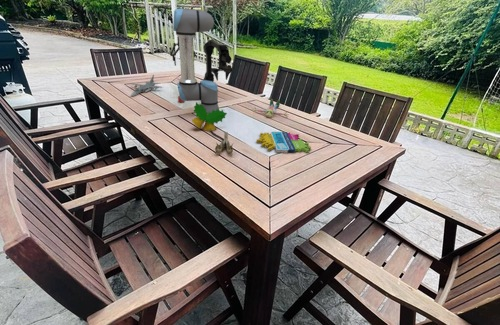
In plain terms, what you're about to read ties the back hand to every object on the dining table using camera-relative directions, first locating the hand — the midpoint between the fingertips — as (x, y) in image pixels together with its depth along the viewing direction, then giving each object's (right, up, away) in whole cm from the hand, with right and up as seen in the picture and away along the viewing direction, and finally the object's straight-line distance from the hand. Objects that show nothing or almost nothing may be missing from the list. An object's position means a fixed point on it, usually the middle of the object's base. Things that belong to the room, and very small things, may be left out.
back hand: (221, 80), depth 225 cm
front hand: (-29, +8, -14) cm, 33 cm away
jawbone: (+11, -65, -86) cm, 109 cm away
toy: (+41, -32, -24) cm, 57 cm away
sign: (+43, -60, -72) cm, 103 cm away
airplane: (-68, -8, +6) cm, 69 cm away
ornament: (-1, -50, -60) cm, 78 cm away
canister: (-31, -22, -15) cm, 41 cm away
